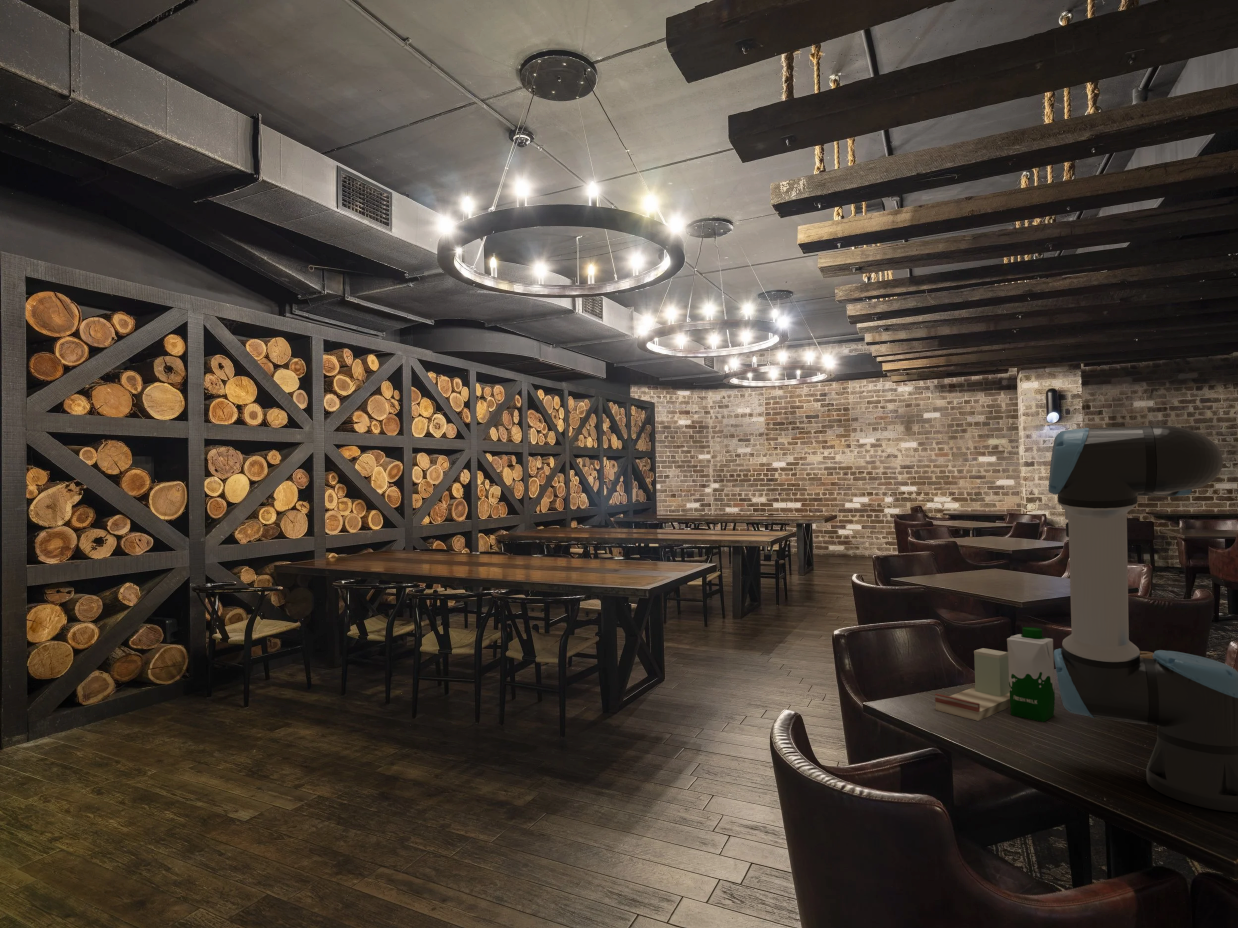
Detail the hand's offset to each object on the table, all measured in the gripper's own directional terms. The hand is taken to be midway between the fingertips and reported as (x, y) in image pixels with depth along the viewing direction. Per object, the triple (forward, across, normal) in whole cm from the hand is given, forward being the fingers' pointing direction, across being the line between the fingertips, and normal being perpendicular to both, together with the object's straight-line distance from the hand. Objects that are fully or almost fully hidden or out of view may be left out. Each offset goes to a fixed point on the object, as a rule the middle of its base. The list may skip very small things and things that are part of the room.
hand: (1087, 611), depth 157 cm
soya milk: (+25, -6, +12) cm, 28 cm away
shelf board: (+24, -4, +24) cm, 34 cm away
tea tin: (+22, +3, +20) cm, 30 cm away
